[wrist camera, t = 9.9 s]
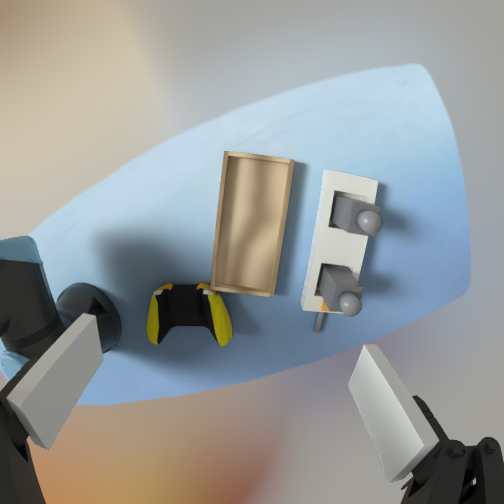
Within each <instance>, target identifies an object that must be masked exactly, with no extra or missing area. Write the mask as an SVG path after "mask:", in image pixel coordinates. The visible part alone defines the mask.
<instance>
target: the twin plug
mask: <svg viewBox="0 0 504 504" xmlns="http://www.w3.org/2000/svg"><path fill="white" fill-rule="evenodd" d="M316 286H317V288H318V290H319V292H320V294H321V296H322V297H323V299H324V301H325V303H326V305H327V307H328V309H329V311H330V312H343V313H344V314H345V315H346V316H348V317H352V316H355V315H357V314H358V313H359V312H360V310H361V307H362V304H361V302H360V298H361V294H362V290H363V286H362V285H361V284H360V283H359V282H358V281H357V279H356V278H355V277H354V276H353V275H352V274H351V273H350V272H349V270H348V269H347V268H346V267H345V266H343V265H335V264H327V263H321V267H320V271H319V276H318V281H317V285H316Z"/></svg>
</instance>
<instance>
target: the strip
mask: <svg viewBox="0 0 504 504" xmlns="http://www.w3.org/2000/svg"><path fill="white" fill-rule="evenodd" d="M377 185H378V181H377V180H373V179H369V178H365V177H360V176H356V175H351V174H346V173H342V172H337V171H332V170H324V172H323V179H322V186H321V193H320V199H319V206H318V212H317V218H316V224H315V229H314V235H313V241H312V246H311V252H310V257H309V262H308V267H307V272H306V277H305V282H304V287H303V292H302V297H301V301H300V303H301V306H302V309H303V311H315V312H318V315H317V319H316V322H315V326H314V330H313V331H314V333H316V334H318V333H319V332H320V329H321V326H322V322H323V318H324V315H325V312H328V313H342V314H344V313H343V312H330V311H329V309H328V307H327V305H326V303H325V301H324V299H323V297H322V296H321V294H320V292H319V290H318V288H317V286H316V285H317V281H318V276H319V271H320V267H321V263H327V264H335V265H343V266H345V267H346V268H347V269H348V270H349V272H350V273H351V274H352V275H353V276H354V277H355V278H356V279H357V281H358V278H359V274H360V270H361V266H362V262H363V258H364V254H365V249H366V245H367V240H368V236H365V235H359V234H353V233H347V232H346V231H344V230H343V229H341V228H340V227H339V226H337V225H336V224H334V223H333V222H331V221H330V214H331V208H332V202H333V196H334V195H337V196H342V197H347V198H352V199H357V200H361V201H364V202H367V203H371V204H375V198H376V192H377Z"/></svg>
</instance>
